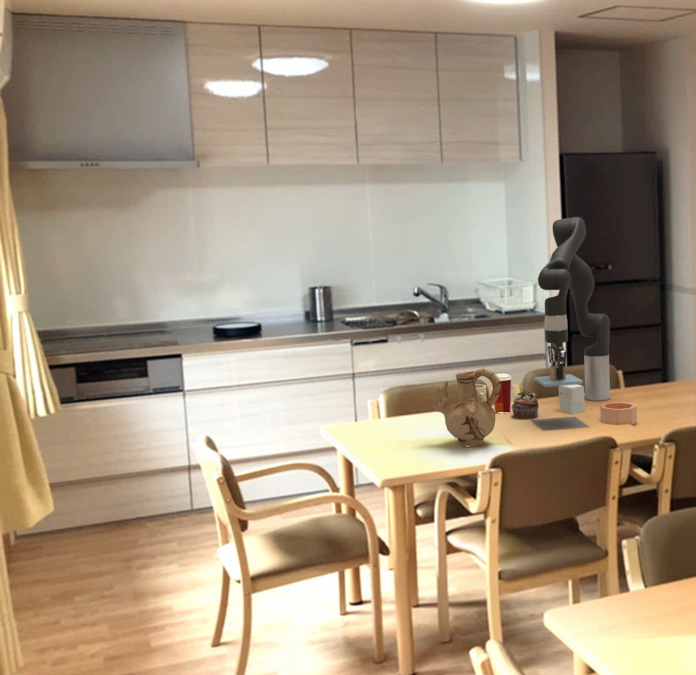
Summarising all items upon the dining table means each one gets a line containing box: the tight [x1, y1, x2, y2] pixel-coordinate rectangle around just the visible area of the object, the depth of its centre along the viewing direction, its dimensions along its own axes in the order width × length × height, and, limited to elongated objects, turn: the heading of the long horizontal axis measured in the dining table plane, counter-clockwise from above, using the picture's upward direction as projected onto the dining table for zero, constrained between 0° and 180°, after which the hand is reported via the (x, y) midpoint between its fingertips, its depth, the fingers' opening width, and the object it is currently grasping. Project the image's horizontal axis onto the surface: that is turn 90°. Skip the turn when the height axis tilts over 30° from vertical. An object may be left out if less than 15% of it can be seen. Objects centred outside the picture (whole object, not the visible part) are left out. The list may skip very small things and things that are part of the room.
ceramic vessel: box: [432, 368, 501, 448], centre depth 276 cm, size 18×19×25 cm
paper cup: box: [491, 373, 513, 413], centre depth 320 cm, size 8×8×14 cm
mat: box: [529, 416, 590, 432], centre depth 294 cm, size 16×16×1 cm
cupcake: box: [511, 391, 539, 420], centre depth 307 cm, size 10×10×10 cm
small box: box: [557, 384, 586, 415], centre depth 311 cm, size 8×6×10 cm
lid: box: [533, 364, 584, 388], centre depth 292 cm, size 13×13×6 cm
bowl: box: [599, 401, 638, 426], centre depth 293 cm, size 11×11×6 cm
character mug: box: [475, 383, 488, 402], centre depth 308 cm, size 11×7×13 cm, turn 18°
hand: (557, 377), depth 292 cm, fingers closed on lid, 4 cm apart
